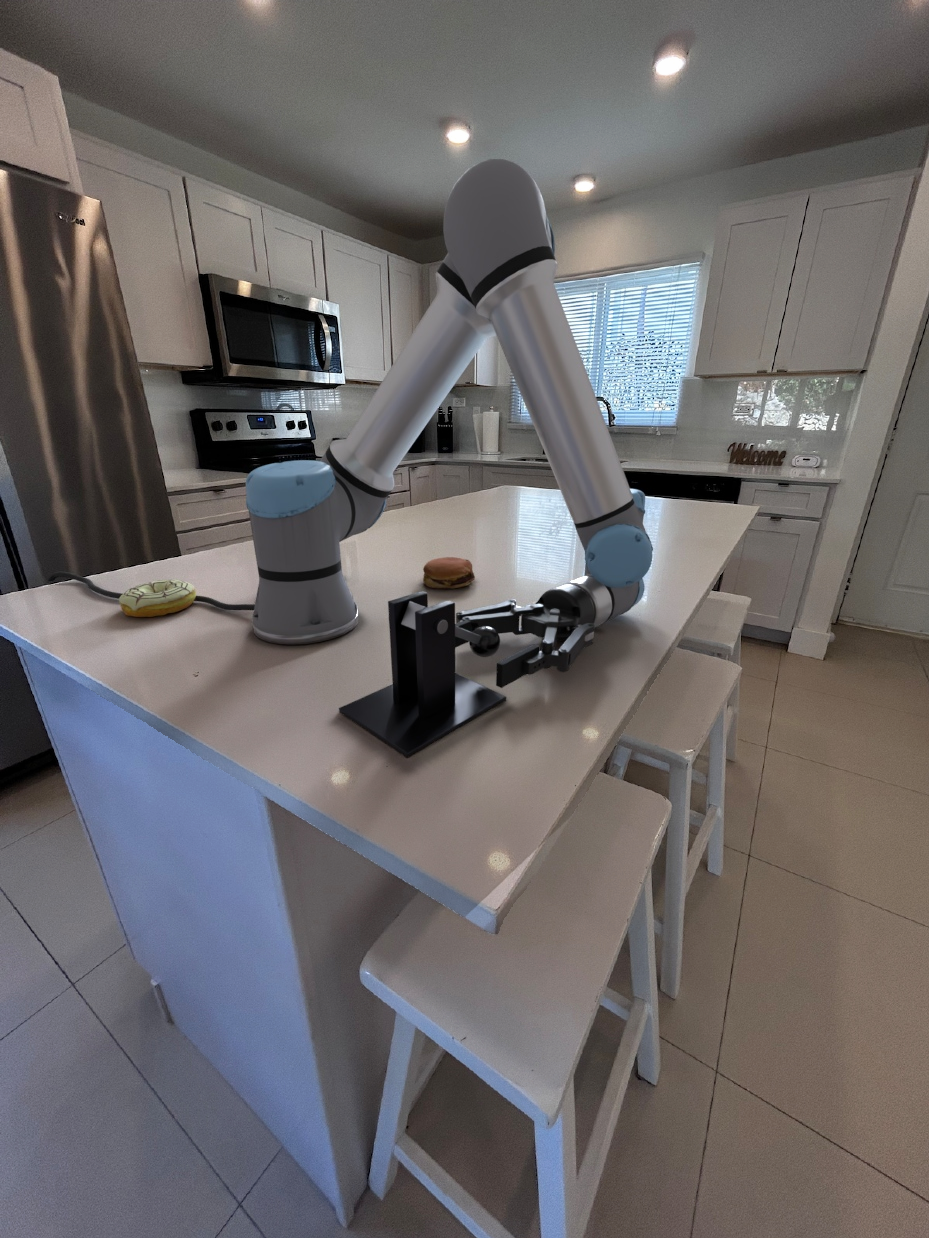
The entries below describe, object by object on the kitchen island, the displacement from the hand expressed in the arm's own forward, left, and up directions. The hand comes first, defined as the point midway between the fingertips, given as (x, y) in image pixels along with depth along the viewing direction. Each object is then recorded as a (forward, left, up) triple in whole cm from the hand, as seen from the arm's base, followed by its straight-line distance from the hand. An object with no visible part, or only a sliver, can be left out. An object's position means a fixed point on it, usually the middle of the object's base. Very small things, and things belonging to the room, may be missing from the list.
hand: (462, 659), depth 57 cm
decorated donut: (-56, +12, -5) cm, 57 cm away
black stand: (-3, -5, -4) cm, 7 cm away
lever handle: (-1, -2, +2) cm, 3 cm away
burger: (-15, +39, -5) cm, 42 cm away
